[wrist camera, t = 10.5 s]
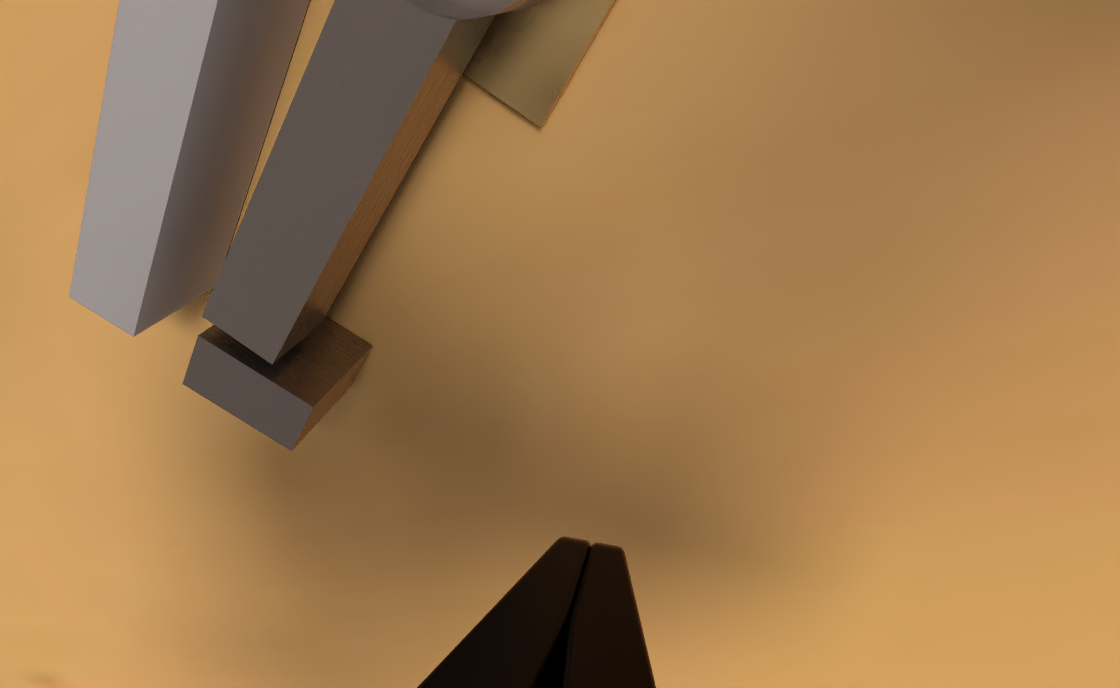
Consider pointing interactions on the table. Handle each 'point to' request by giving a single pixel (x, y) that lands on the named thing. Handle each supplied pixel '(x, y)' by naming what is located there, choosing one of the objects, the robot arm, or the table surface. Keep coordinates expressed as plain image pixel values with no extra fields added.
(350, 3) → the lock bar
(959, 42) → the table surface
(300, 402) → the grey square block
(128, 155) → the door board
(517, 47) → the plate
